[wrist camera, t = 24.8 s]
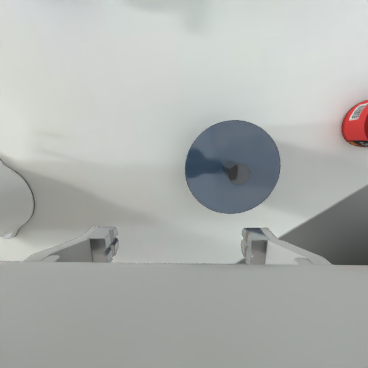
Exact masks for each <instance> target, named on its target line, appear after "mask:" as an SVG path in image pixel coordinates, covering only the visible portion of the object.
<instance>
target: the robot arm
mask: <svg viewBox="0 0 368 368" xmlns="http://www.w3.org/2000/svg"><path fill="white" fill-rule="evenodd" d="M33 208H34V201H33V196H32V193H31V190H30V188H29V187H28V185H27V183H26V182H25V181H24V180H23V178H22V177H21V176H19V175H18V174H17V173H16V172H14V171H13V170H11V169H10V168H8V167H7V166H5V165H4V163H3V162H2V161H1V160H0V238H5V239H10V238H12V237H14V236H15V235H16V234H17V232H18V229H19V228H20V227H21V226H22V225H24V224H25V223H26V222H27V221H28V220H29V219H30V217H31V215H32V213H33ZM117 234H118V231H117V228H116V227H91V228H90V229H89V230H88V231H87V232H85V233H84V234H83V235H82V236H81V237H80V238H76V239H73V240H71V241H68V242H65V243H62V244H60V245H57V246H54V247H52V248H49V249H46V250H43V251H41V252H38V253H35V254H33V255H31V256H30V257H28V258H27V259H26V260H24V261H23V262H19V261H0V368H368V265H365V266H363V265H358V266H357V265H332V264H331V263H330V262H328V261H327V260H326V259H325V258H323V257H321V256H318V255H316V254H313V253H311V252H309V251H306V250H304V249H302V248H299V247H297V246H294V245H292V244H289V243H287V242H285V241H282V240H278V238H277V237H276V236H275V235H274V234H273V233H272V232H271V231H270V230H269V229H268V228H243V230H242V236H243V238H244V239H243V240H242V241H241V251H242V254H243V256H244V257H246V262H247V264H193V263H110V262H111V261H112V257H113V256H114V255H116V253H117V251H118V247H119V241H118V239H117V238H116V236H117Z"/></svg>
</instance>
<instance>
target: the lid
mask: <svg viewBox="0 0 368 368" xmlns="http://www.w3.org/2000/svg"><path fill="white" fill-rule="evenodd" d="M279 173H280V156H279V152H278V149H277V147H276V145H275V143H274V141H273V139H272V138H271V137H270V136H269V135H268V133H267V132H265V131H264V130H263V129H262V128H260V127H258V126H257V125H255V124H252V123H250V122H246V121H239V120H231V121H224V122H221V123H218V124H215V125H213V126H211V127H210V128H208V129H206V130H205V131H204V132H203V133H201V134H200V135H199V136H198V137H197V139H196V140H195V141H194V143H193V144H192V146H191V148H190V150H189V152H188V155H187V158H186V164H185V175H186V181H187V184H188V186H189V189H190V191H191V192H192V194H193V195H194V197H195V198H196V199H197V200H198V201H199V202H200V203H201V204H202V205H204V206H205V207H207V208H209V209H211V210H213V211H216V212H220V213H226V214H235V213H241V212H245V211H248V210H250V209H252V208H254V207H256V206H258V205H259V204H260V203H262V202H263V201H264V200H265V199H266V198H267V197H268V196H269V195H270V193H271V192H272V191H273V189H274V187H275V185H276V183H277V180H278V178H279Z"/></svg>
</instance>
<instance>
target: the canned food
mask: <svg viewBox="0 0 368 368" xmlns="http://www.w3.org/2000/svg"><path fill="white" fill-rule="evenodd" d="M342 134H343V136H344V138H345V140H346V141H347V142H349V143H350V144H352V145H355V146H359V147H368V100H366V101H363V102H361V103H359V104H357V105H356V106H354V107H353V108H352V109H351V110H350V111H349V112H348V113H347V114H346V116H345V118H344V120H343V123H342Z"/></svg>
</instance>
